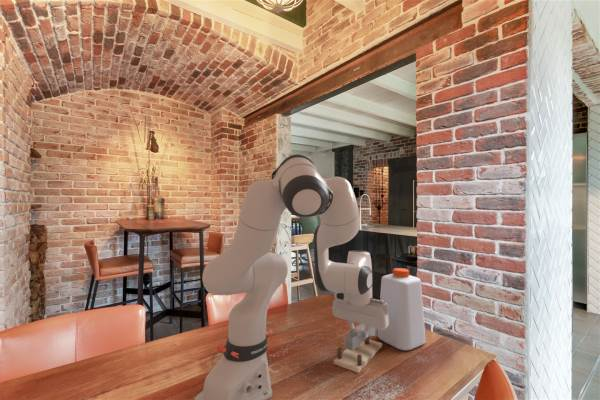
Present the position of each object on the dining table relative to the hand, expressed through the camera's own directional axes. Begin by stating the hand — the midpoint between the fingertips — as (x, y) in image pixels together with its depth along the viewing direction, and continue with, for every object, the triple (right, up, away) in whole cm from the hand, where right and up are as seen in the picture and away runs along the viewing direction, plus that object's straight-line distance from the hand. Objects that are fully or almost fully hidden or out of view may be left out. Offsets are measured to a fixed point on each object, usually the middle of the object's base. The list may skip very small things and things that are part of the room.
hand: (359, 335), depth 102 cm
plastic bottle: (+19, -8, +12) cm, 24 cm away
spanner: (+1, -2, +1) cm, 2 cm away
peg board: (0, -8, +2) cm, 8 cm away
